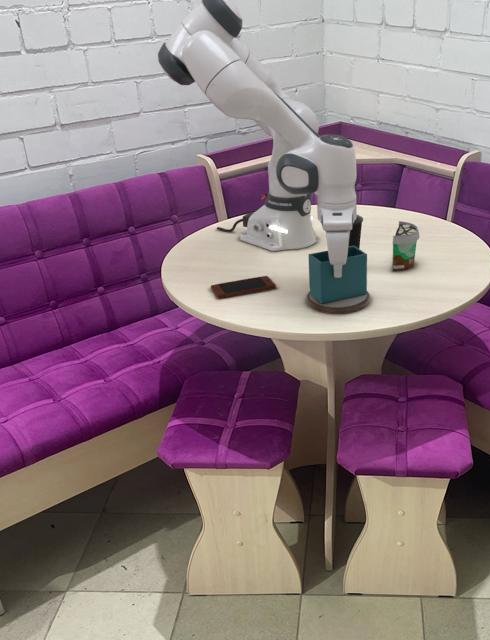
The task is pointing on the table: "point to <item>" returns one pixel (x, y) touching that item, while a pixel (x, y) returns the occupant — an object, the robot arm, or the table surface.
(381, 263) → the table surface
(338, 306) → the disc
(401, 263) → the food container
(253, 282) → the smartphone
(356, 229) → the drinking cup
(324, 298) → the bin
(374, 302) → the table surface
